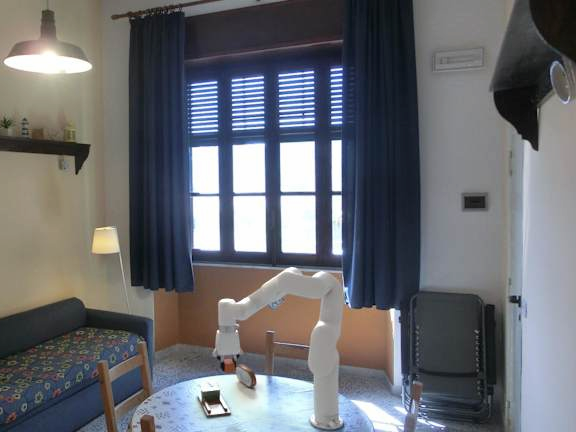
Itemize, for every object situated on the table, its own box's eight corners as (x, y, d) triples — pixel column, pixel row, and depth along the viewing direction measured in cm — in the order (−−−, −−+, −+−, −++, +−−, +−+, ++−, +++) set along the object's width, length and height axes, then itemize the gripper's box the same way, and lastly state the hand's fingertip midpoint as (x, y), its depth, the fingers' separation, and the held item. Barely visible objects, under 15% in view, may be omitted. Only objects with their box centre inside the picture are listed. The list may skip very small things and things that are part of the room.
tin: (257, 389, 232) (256, 371, 231) (251, 390, 230) (250, 372, 230) (240, 378, 245) (239, 361, 245) (234, 379, 244) (234, 362, 243)
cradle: (230, 414, 208) (230, 403, 207) (207, 417, 206) (207, 405, 205) (219, 394, 227) (218, 384, 227) (197, 397, 225) (197, 386, 225)
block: (222, 368, 219) (222, 359, 218) (231, 367, 219) (230, 358, 219) (225, 373, 213) (225, 364, 212) (234, 372, 213) (234, 363, 213)
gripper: (243, 324, 220) (244, 364, 221) (206, 327, 217) (207, 368, 218) (248, 329, 212) (249, 371, 214) (210, 332, 209) (211, 374, 211)
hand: (228, 369), depth 216 cm, fingers closed on block, 4 cm apart
